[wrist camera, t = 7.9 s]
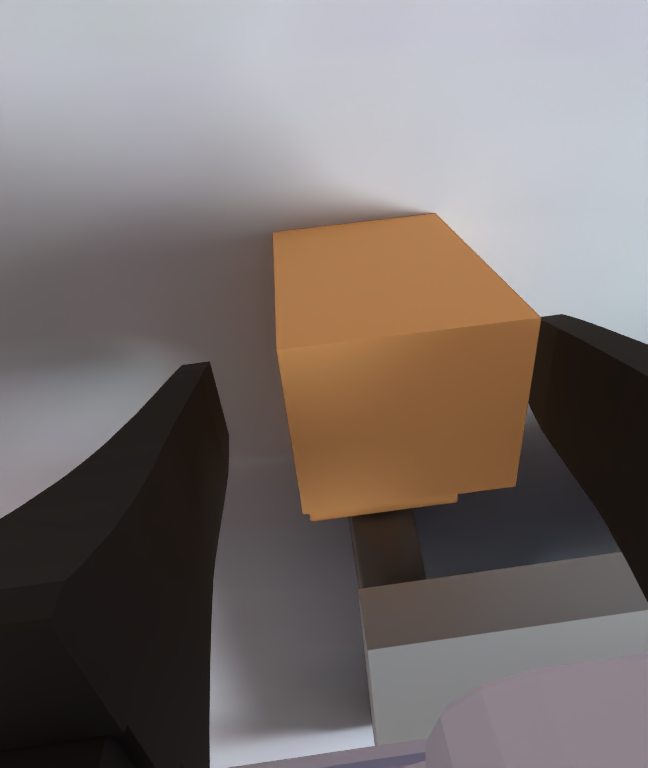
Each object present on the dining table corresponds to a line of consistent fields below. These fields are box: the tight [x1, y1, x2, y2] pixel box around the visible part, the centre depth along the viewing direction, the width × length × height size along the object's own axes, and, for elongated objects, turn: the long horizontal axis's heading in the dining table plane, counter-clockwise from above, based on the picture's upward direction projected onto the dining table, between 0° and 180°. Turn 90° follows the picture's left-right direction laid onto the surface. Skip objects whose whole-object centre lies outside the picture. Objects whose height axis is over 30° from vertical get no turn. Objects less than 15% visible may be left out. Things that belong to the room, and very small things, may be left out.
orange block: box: [273, 213, 541, 521], centre depth 12 cm, size 4×7×6 cm, turn 5°
